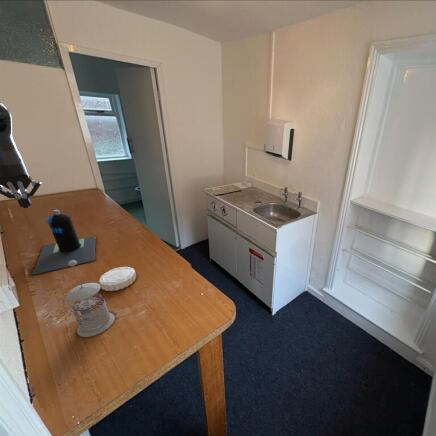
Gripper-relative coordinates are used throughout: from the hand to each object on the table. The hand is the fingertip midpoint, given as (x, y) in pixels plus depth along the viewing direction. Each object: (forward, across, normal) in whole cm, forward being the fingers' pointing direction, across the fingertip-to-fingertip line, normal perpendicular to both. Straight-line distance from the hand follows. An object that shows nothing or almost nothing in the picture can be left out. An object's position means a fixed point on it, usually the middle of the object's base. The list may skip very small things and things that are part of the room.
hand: (26, 207), depth 89 cm
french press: (+28, -14, +46) cm, 55 cm away
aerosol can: (+28, -5, -14) cm, 31 cm away
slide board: (+28, -5, -9) cm, 30 cm away
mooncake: (+28, -22, +26) cm, 44 cm away
